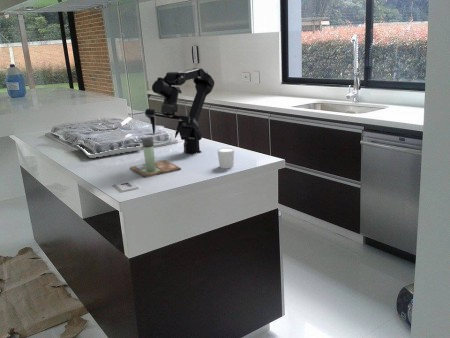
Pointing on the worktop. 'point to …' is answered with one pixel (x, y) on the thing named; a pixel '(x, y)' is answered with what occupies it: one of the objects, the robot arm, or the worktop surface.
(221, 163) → the white cup
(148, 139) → the cylinder
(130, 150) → the square plate
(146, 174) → the picture board
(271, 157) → the worktop surface
